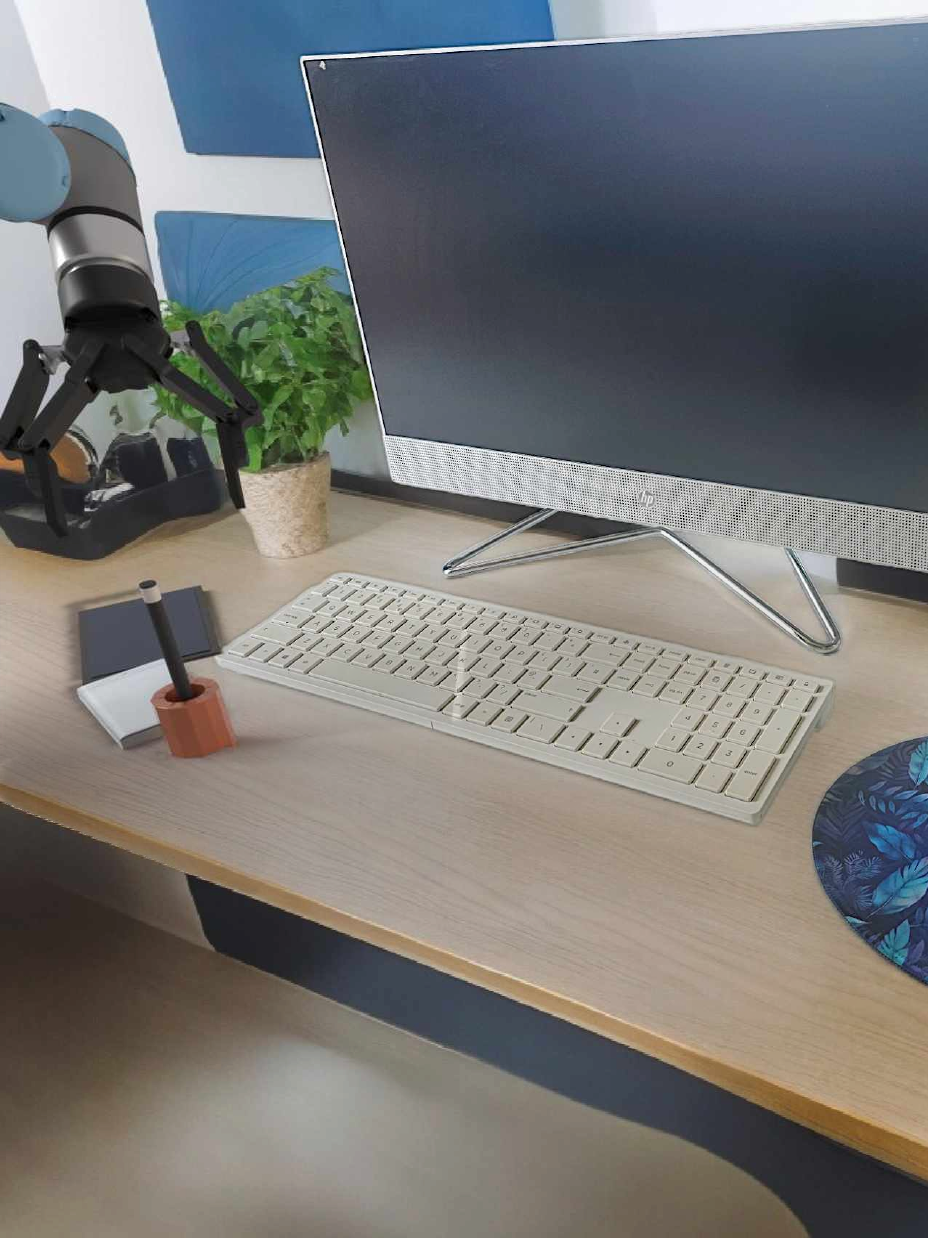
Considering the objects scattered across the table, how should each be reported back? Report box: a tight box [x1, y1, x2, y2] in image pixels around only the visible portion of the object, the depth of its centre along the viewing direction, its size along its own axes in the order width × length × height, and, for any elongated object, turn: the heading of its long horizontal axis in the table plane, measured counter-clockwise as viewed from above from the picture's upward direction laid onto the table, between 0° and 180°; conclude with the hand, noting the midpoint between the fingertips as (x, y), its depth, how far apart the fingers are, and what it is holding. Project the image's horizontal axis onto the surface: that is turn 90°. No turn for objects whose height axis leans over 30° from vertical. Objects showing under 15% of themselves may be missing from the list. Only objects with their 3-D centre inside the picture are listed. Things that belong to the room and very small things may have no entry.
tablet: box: [77, 584, 222, 686], centre depth 118 cm, size 18×12×1 cm, turn 27°
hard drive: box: [76, 659, 191, 751], centre depth 105 cm, size 2×8×12 cm
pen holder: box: [150, 677, 238, 759], centre depth 96 cm, size 5×5×6 cm
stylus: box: [138, 579, 195, 702], centre depth 94 cm, size 1×1×15 cm
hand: (149, 516), depth 96 cm, fingers open, 13 cm apart
